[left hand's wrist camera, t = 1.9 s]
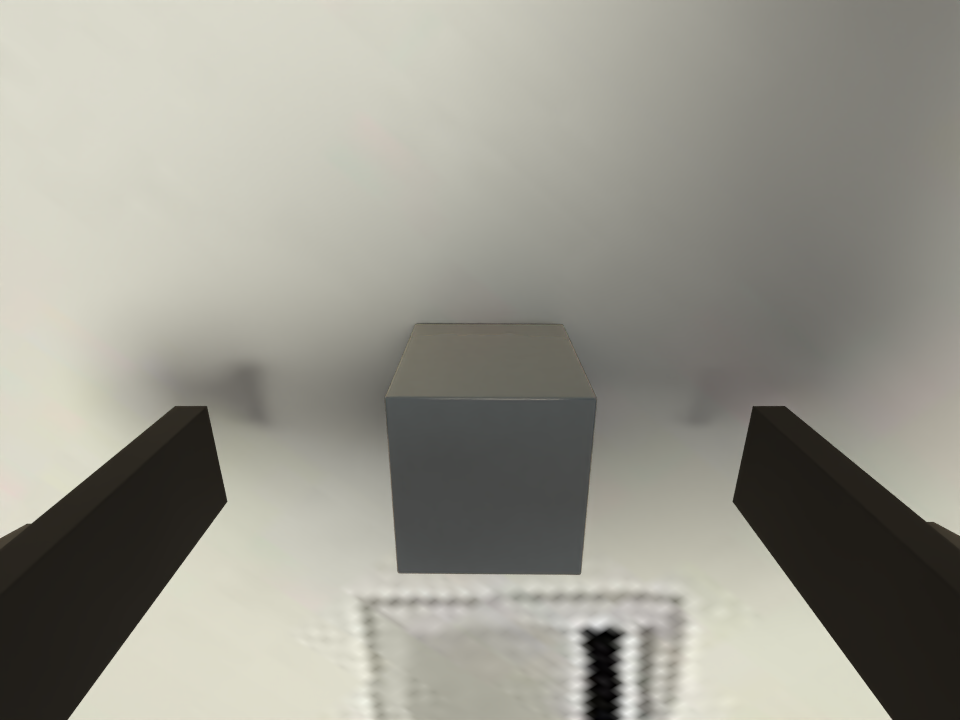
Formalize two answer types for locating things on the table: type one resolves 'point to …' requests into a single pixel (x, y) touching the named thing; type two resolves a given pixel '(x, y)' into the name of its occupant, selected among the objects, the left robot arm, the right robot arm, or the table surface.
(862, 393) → the table surface
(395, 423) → the brick
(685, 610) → the table surface
